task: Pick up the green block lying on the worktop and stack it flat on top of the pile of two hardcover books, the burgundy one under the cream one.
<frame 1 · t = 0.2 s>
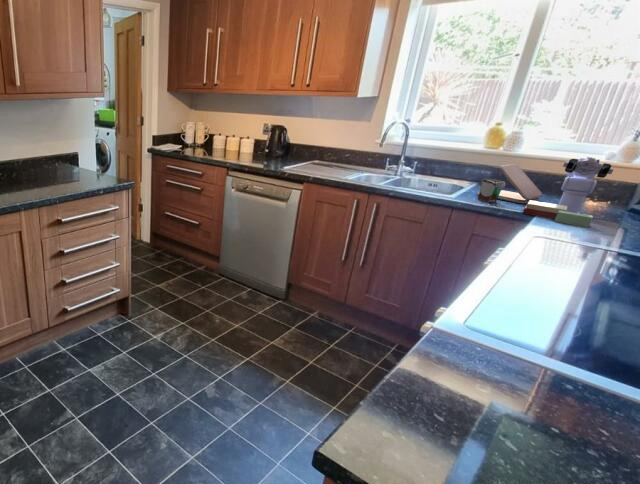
hand: (587, 169, 169), 21 cm above the countertop, tool horizontal, fingers open, 7 cm apart
green block: (571, 223, 173), on the countertop
book stack: (543, 214, 185), on the countertop
case: (507, 198, 214), on the countertop
food container: (489, 201, 205), on the countertop
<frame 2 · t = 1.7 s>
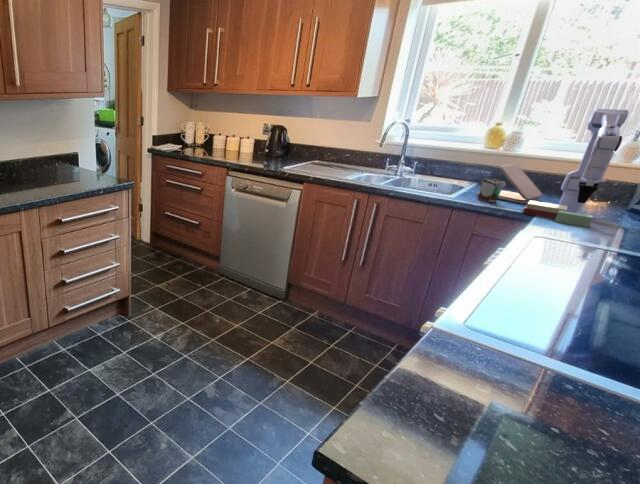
hand: (581, 201, 170), 9 cm above the countertop, tool pointing down, fingers open, 7 cm apart
nothing on the countertop moved.
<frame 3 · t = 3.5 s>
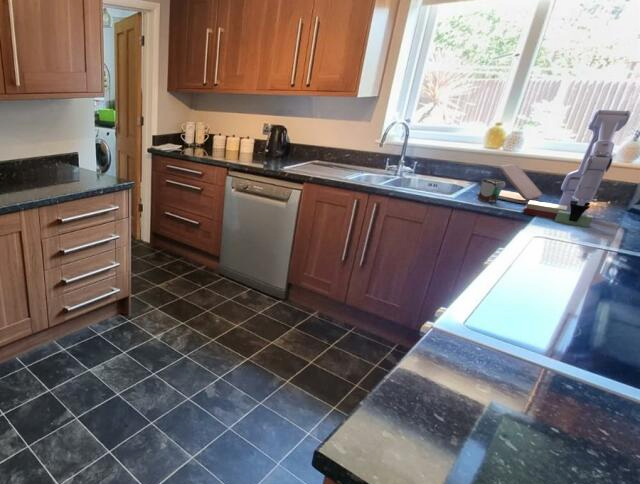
hand: (572, 220, 173), 1 cm above the countertop, tool pointing down, fingers closed on green block, 5 cm apart
green block: (571, 223, 173), on the countertop, touching gripper
everything else where it was.
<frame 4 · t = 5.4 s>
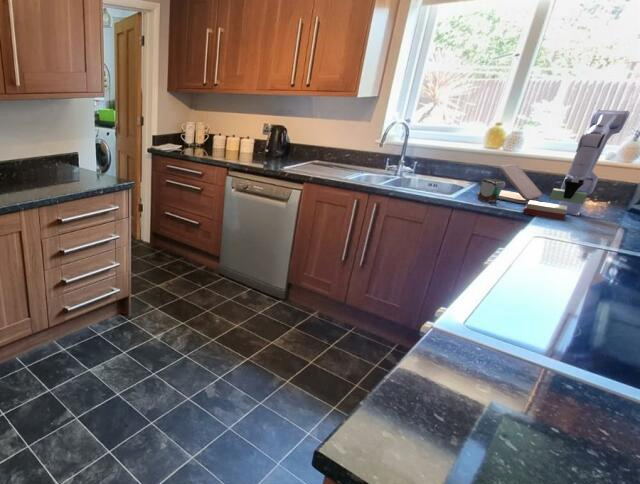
hand: (567, 197, 175), 9 cm above the countertop, tool pointing down, fingers closed on green block, 5 cm apart
green block: (565, 200, 176), point 8 cm above the countertop, touching gripper
everything else where it was.
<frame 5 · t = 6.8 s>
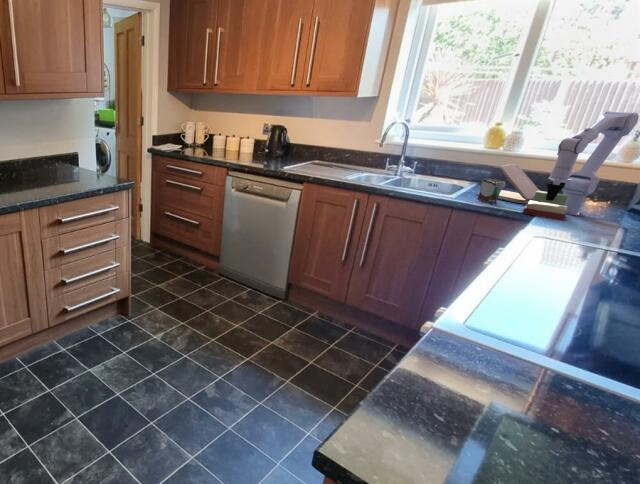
hand: (549, 199, 182), 7 cm above the countertop, tool pointing down, fingers closed on green block, 5 cm apart
green block: (548, 202, 183), point 5 cm above the countertop, touching gripper
everything else where it was.
when the fingers open (6 cm above the countertop, at t = 7.6 s): green block stays where it is, resting on book stack.
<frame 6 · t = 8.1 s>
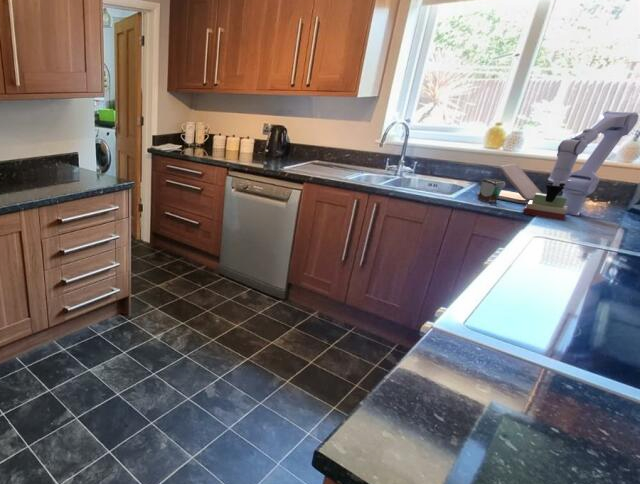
hand: (549, 200, 183), 6 cm above the countertop, tool pointing down, fingers open, 7 cm apart
green block: (547, 204, 183), point 4 cm above the countertop, touching book stack
everything else where it was.
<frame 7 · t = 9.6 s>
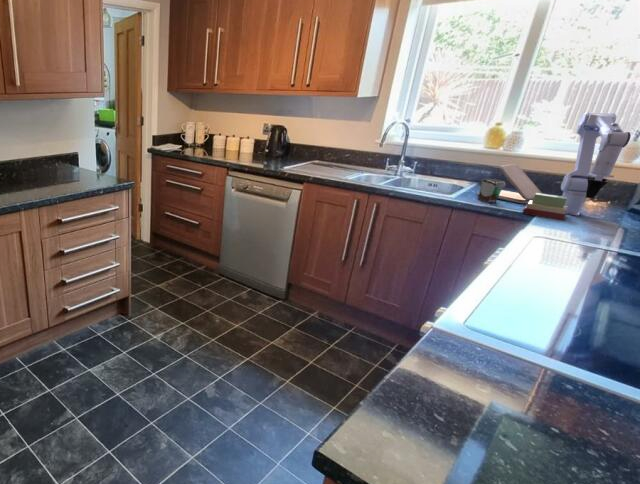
hand: (589, 196, 174), 10 cm above the countertop, tool pointing down, fingers open, 7 cm apart
nothing on the countertop moved.
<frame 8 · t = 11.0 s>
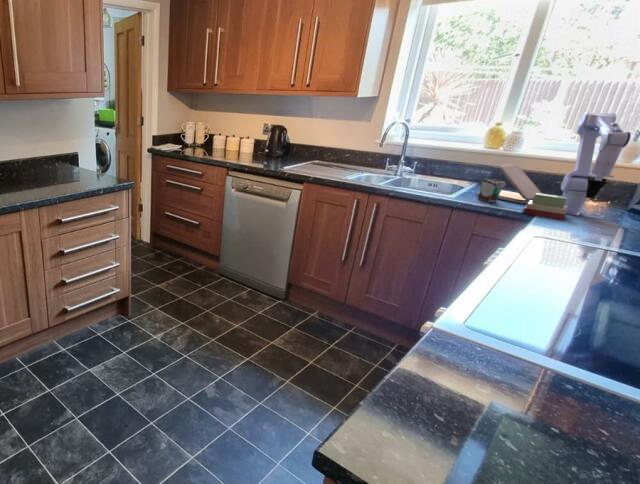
hand: (589, 196, 174), 10 cm above the countertop, tool pointing down, fingers open, 7 cm apart
nothing on the countertop moved.
at the end: green block 0.0 cm off-centre on the book stack, point 4.4 cm above the book stack's base; green block tilted 0°; the gripper is holding nothing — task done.
